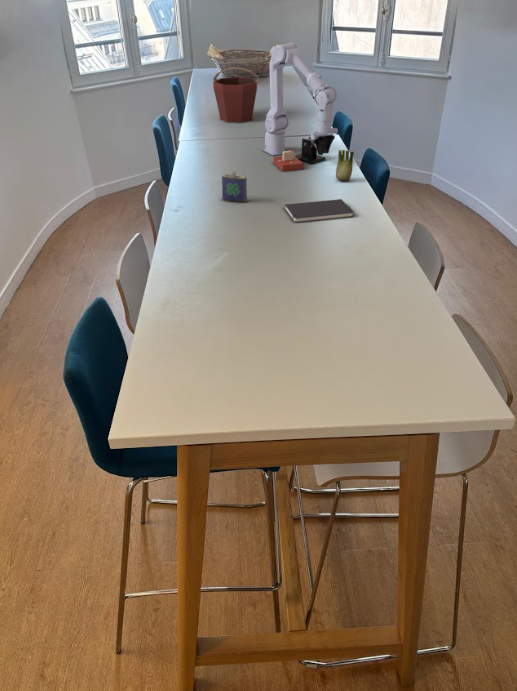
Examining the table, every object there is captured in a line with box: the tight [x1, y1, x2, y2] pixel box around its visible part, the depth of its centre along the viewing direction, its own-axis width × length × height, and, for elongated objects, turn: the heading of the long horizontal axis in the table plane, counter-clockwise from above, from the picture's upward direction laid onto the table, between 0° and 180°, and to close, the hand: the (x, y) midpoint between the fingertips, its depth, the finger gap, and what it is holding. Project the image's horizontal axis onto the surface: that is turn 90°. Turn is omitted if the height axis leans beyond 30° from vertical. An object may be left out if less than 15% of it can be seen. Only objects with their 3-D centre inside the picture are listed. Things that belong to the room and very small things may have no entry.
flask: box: [221, 170, 248, 203], centre depth 206 cm, size 9×3×11 cm, turn 74°
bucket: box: [212, 66, 261, 124], centre depth 298 cm, size 24×22×25 cm
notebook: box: [284, 198, 354, 223], centre depth 199 cm, size 13×2×21 cm
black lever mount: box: [294, 136, 326, 165], centre depth 246 cm, size 11×9×9 cm
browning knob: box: [282, 149, 295, 161], centre depth 239 cm, size 5×2×4 cm, turn 107°
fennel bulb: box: [335, 149, 355, 182], centre depth 223 cm, size 6×5×12 cm
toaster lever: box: [307, 138, 327, 155], centre depth 242 cm, size 11×3×3 cm, turn 42°
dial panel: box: [272, 155, 304, 172], centre depth 240 cm, size 12×9×3 cm
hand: (323, 153), depth 241 cm, fingers closed on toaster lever, 3 cm apart
